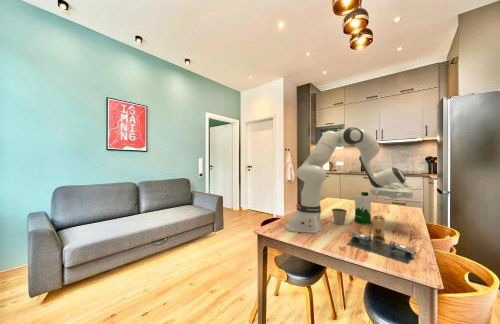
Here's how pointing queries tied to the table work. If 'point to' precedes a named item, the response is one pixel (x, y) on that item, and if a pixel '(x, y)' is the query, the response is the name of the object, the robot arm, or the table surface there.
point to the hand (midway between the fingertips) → (386, 195)
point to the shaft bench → (382, 248)
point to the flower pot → (339, 215)
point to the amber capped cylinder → (378, 229)
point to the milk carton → (363, 208)
